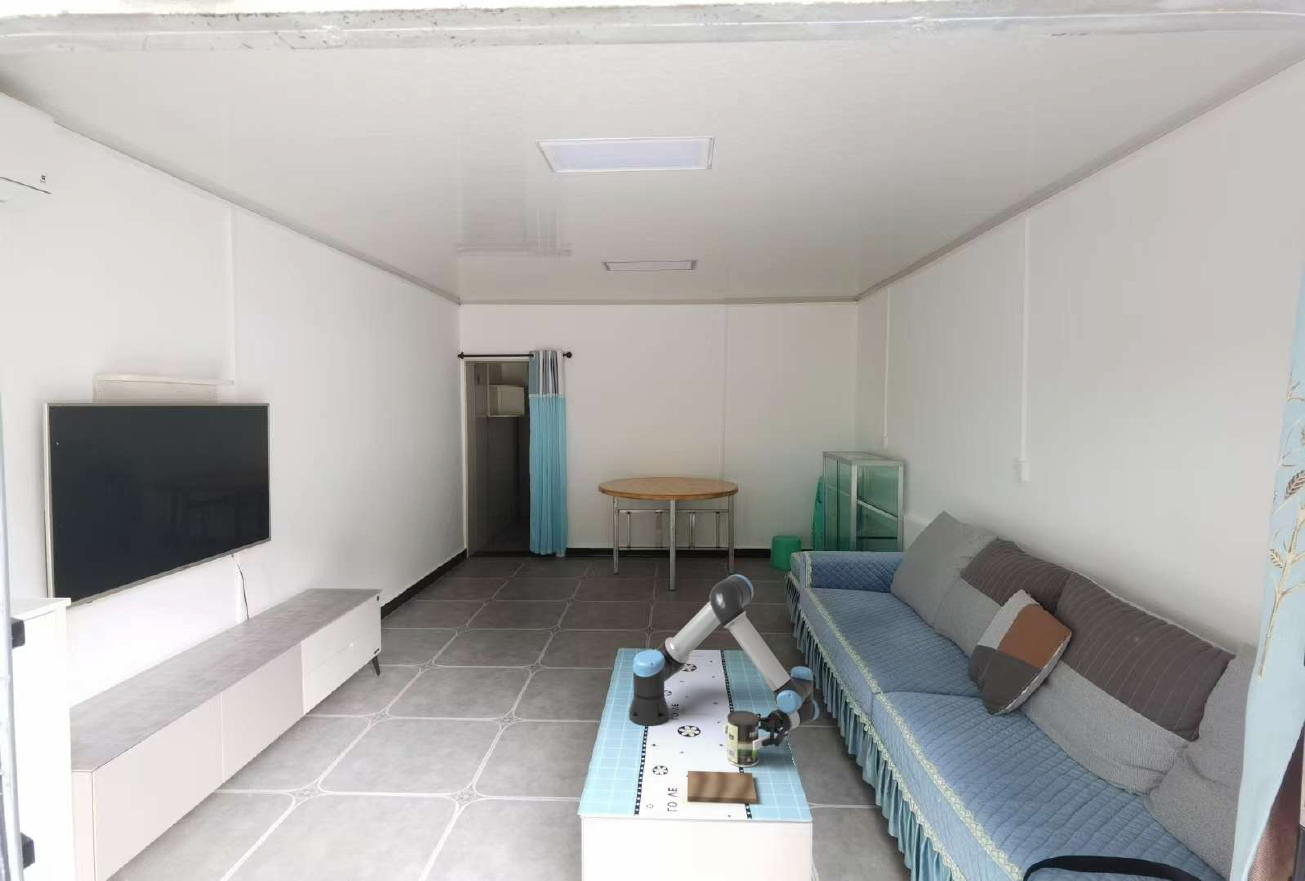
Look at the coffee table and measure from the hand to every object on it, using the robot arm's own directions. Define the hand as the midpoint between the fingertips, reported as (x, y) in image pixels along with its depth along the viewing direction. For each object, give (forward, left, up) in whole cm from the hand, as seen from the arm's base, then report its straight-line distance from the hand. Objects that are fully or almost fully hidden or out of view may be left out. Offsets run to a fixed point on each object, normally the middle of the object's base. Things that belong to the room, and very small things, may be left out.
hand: (738, 737), depth 212 cm
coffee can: (+2, +2, -8) cm, 8 cm away
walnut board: (-6, -16, -8) cm, 19 cm away
